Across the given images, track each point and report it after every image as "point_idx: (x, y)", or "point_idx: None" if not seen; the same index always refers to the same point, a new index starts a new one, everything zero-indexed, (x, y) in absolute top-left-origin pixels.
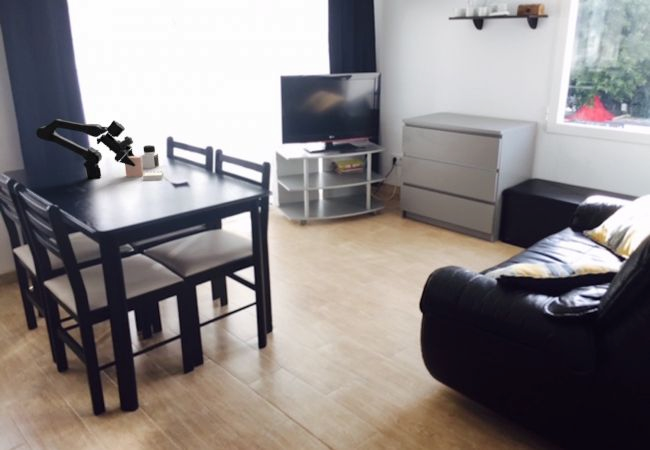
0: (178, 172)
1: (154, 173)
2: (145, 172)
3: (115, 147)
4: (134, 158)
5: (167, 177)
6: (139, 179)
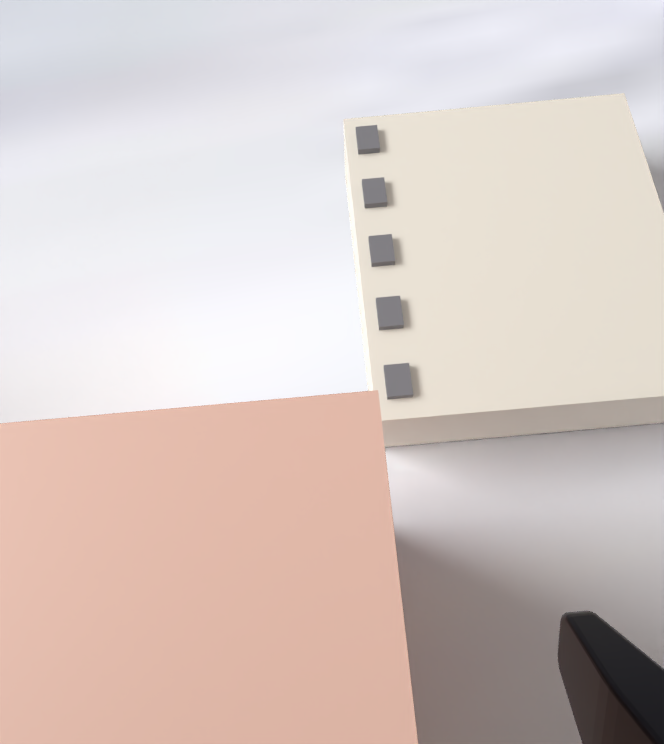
0: (112, 46)
1: (494, 225)
2: (405, 416)
3: None
4: (409, 703)
5: None
6: (586, 527)
